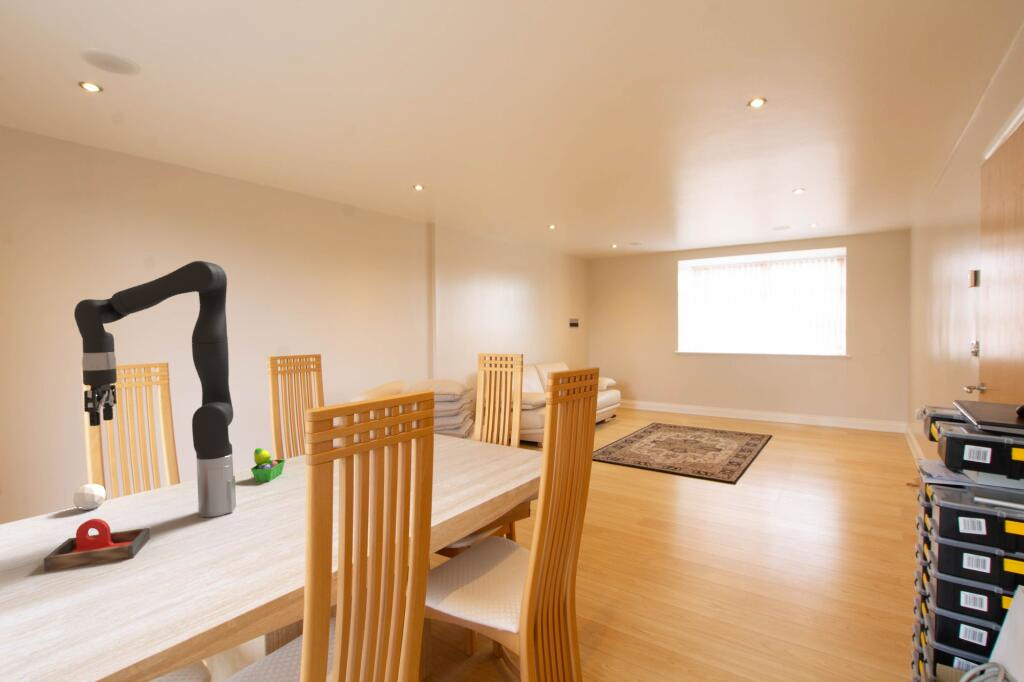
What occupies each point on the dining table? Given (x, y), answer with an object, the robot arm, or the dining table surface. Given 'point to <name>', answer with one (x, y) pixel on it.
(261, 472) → the fruit basket
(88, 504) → the geometric ball
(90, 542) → the bracket
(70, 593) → the dining table surface
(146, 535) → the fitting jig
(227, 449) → the robot arm
